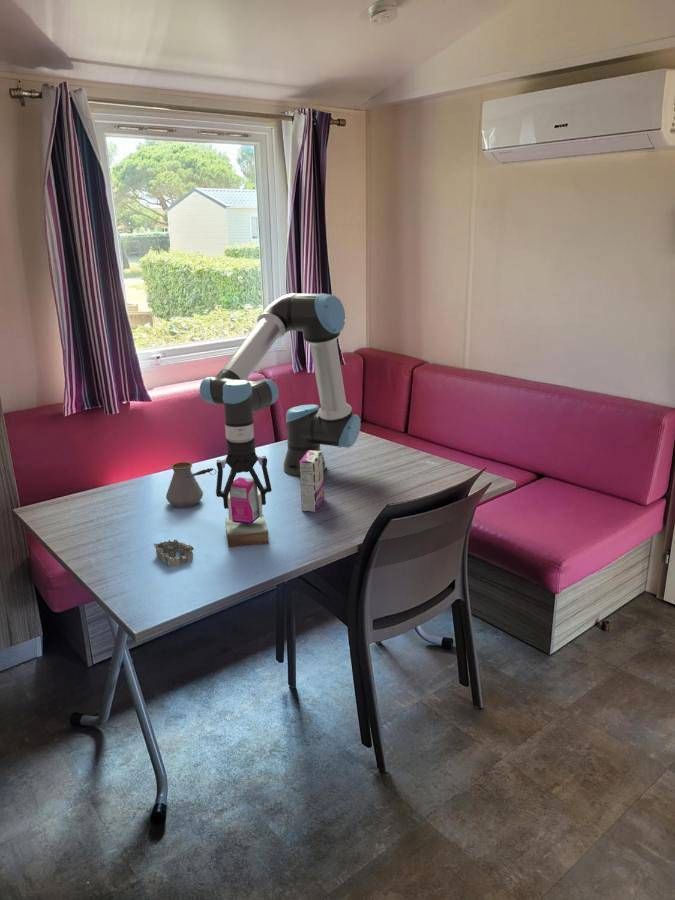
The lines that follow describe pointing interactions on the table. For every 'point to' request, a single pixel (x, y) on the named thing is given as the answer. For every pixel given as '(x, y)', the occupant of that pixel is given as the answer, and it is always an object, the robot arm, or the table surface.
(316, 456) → the candy bar box
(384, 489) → the table surface
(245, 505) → the supplement box
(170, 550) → the rocky terrain model
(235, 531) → the block
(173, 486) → the coffee pot
